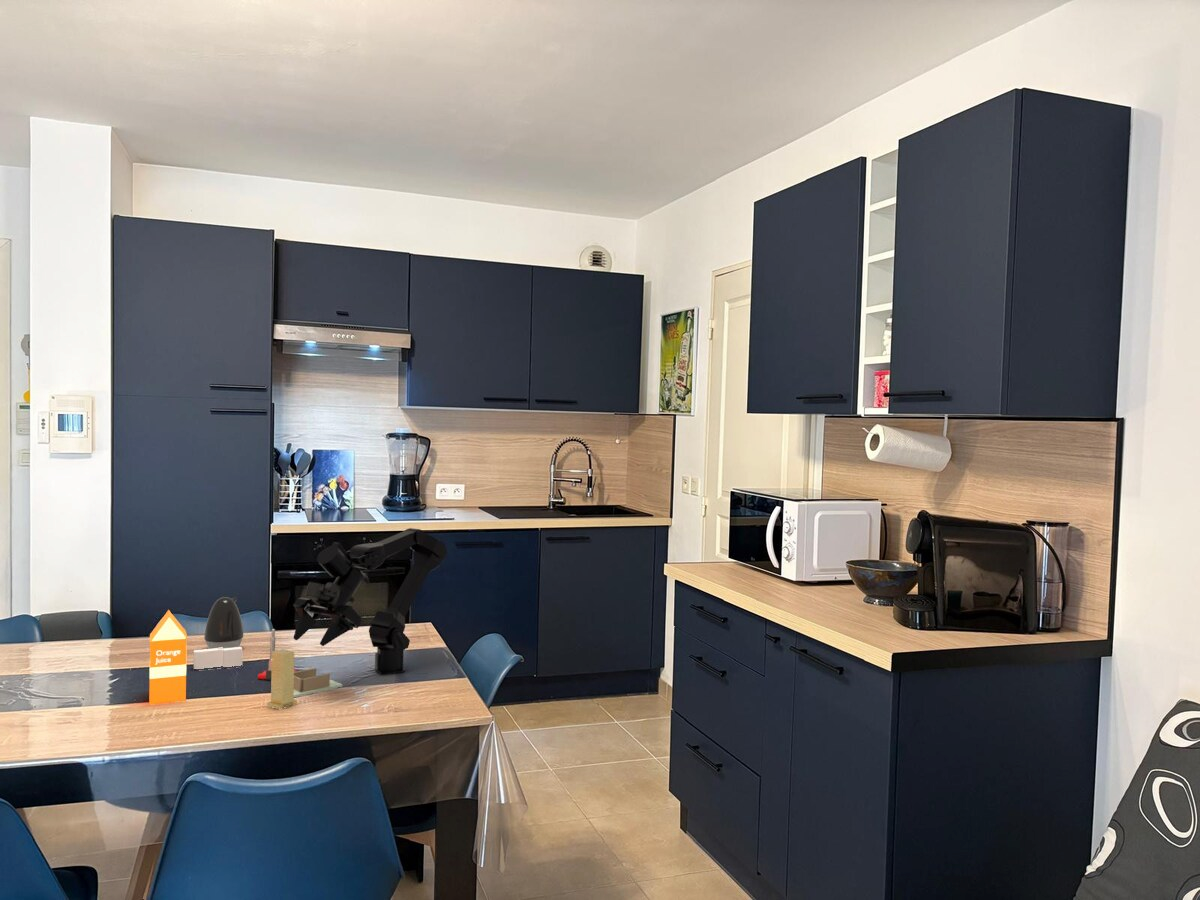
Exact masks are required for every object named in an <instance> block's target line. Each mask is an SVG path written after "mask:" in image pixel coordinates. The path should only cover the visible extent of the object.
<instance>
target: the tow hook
mask: <svg viewBox="0 0 1200 900" xmlns="http://www.w3.org/2000/svg"><path fill="white" fill-rule="evenodd" d="M275 635H276V628H272V629H271V637H270V641H269V642H270V643H269V659H268V669H266V670H264V671H263V672H262V673H258V674H257V679H259V680H264V679H266V680H265V681H271V672H272V652H273V651H276V636H275ZM294 672H297V670H296V669H294Z"/></svg>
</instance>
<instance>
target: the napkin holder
mask: <svg viewBox="0 0 1200 900" xmlns="http://www.w3.org/2000/svg"><path fill="white" fill-rule="evenodd" d="M241 665H242V666H243V647H242V646H238V647H233V648H223V647H219V648H213V649H209V648H205V649H195V650H193V670H194V669H204V668H213V667H221V666H223V667H232V666H233V667H234V666H241Z"/></svg>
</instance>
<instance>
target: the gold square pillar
mask: <svg viewBox="0 0 1200 900" xmlns="http://www.w3.org/2000/svg"><path fill="white" fill-rule="evenodd" d="M294 670H295V651H293V650H288V649H284V648H283V649H278V650H275V651H273V652H272V672H271V680H270V681H271V682H270V683H271V684H270V685H271V686H270V688H271V689H270V693H271V694H270V701H268V702H267V706H270V707H274V708H277V709H281V708H284V707H287V708H289V707H288V706H290V707H292V706H291V705H293V706H295V705H294V704H296V705H297V704H298V700H297V699H295V698H294ZM270 707H269V708H270ZM277 709H276V710H277ZM284 709H285V708H284ZM281 710H282V709H281Z"/></svg>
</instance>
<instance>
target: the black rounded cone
mask: <svg viewBox="0 0 1200 900" xmlns="http://www.w3.org/2000/svg"><path fill="white" fill-rule="evenodd" d="M237 600H238V597H237V596H234V597H233V598H230V597H227V596H222V597H220V598H218V599H217V600H216V601H215V602H214V603H213V605H212V607H211V609H210V611H209V614H208V618H207V620H206V625H205V628H204V629H205V630H204V637H203V638H204V640H205V643H206V646H207V649H213V648H219V647H223V648H233V647H240V645H241V643H242V640H243V639H244V625H243V622H242V621H243V620H242V616H241V613H240V611H239V607H238V606H237V604H236V602H237Z"/></svg>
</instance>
